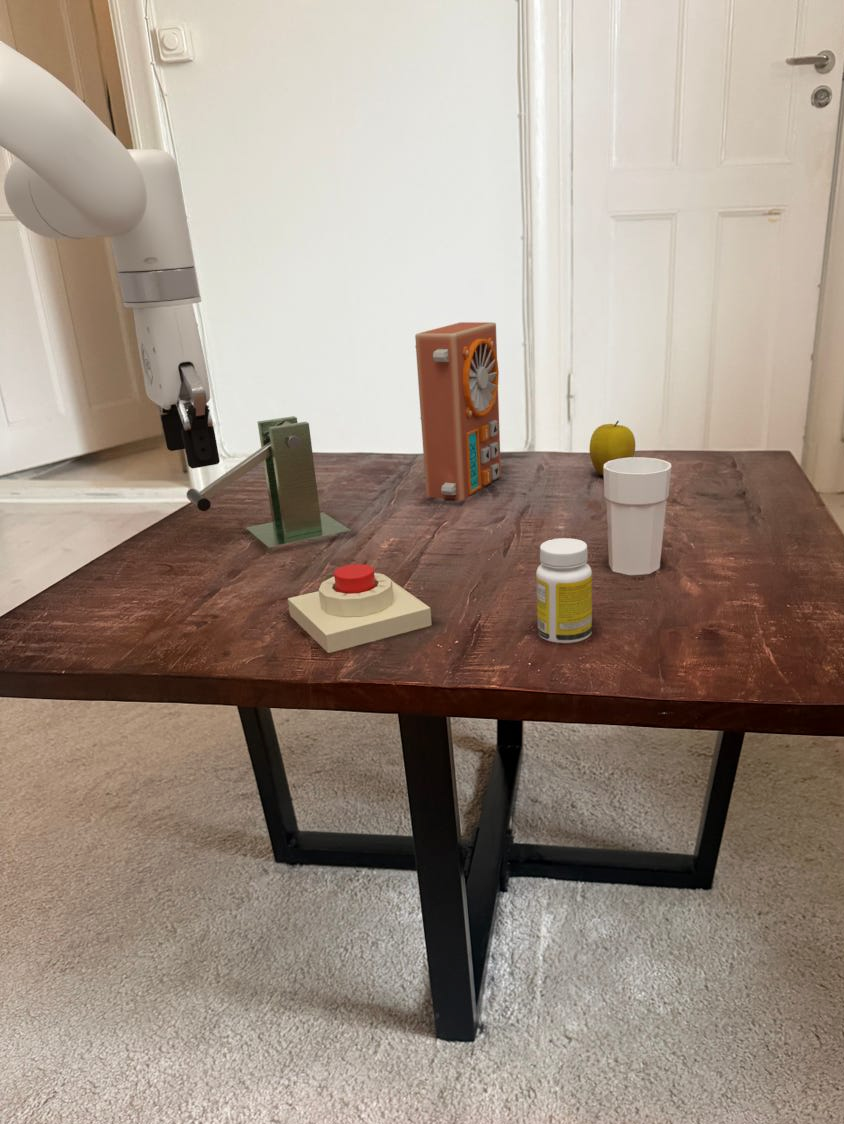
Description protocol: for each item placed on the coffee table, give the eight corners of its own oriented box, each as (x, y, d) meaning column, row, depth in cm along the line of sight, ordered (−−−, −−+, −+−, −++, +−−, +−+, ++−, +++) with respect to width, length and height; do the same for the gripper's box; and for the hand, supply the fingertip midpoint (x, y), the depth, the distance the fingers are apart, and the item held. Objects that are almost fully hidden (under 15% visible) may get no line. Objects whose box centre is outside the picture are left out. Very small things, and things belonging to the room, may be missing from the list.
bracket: (270, 557, 101) (251, 435, 95) (246, 536, 108) (228, 422, 102) (352, 539, 105) (339, 422, 100) (324, 521, 113) (310, 410, 107)
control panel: (510, 481, 126) (463, 512, 113) (465, 478, 128) (415, 507, 116) (505, 321, 117) (454, 335, 104) (457, 321, 119) (402, 335, 107)
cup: (589, 566, 94) (590, 463, 89) (641, 555, 96) (645, 454, 92) (625, 586, 88) (628, 477, 84) (679, 573, 91) (685, 467, 86)
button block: (329, 658, 77) (323, 615, 75) (290, 619, 85) (284, 580, 83) (432, 629, 81) (429, 589, 79) (386, 595, 89) (382, 558, 87)
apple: (625, 483, 122) (627, 424, 119) (582, 479, 125) (582, 422, 122) (640, 471, 127) (642, 415, 124) (598, 468, 130) (598, 413, 127)
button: (345, 599, 79) (342, 581, 78) (330, 587, 82) (327, 569, 81) (382, 590, 81) (380, 572, 80) (366, 578, 84) (364, 561, 83)
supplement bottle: (600, 630, 79) (602, 540, 76) (576, 651, 76) (576, 558, 72) (553, 621, 82) (552, 533, 78) (527, 640, 78) (525, 549, 75)
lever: (205, 517, 98) (192, 499, 96) (194, 506, 102) (181, 490, 100) (308, 443, 101) (296, 425, 99) (293, 436, 105) (282, 418, 103)
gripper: (107, 288, 95) (141, 448, 103) (139, 296, 82) (176, 479, 89) (178, 282, 98) (206, 437, 106) (220, 289, 85) (250, 466, 92)
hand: (193, 456), depth 97 cm, fingers open, 9 cm apart
